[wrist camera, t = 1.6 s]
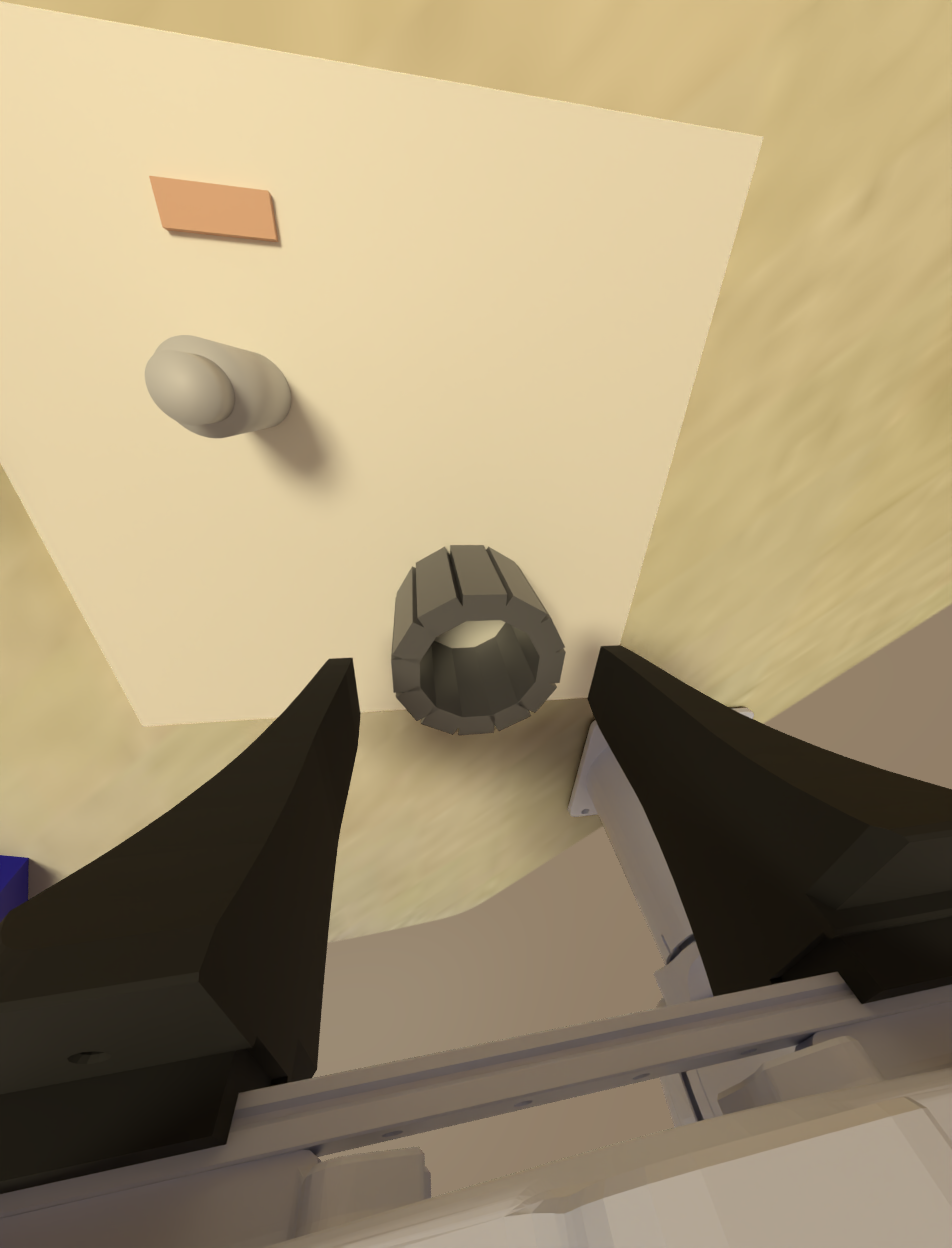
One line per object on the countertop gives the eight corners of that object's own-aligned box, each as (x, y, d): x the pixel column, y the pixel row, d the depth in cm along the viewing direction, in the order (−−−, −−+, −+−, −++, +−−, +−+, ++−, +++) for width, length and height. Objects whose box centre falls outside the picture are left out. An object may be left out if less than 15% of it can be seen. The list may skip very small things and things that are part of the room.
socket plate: (740, 153, 10) (961, -9, 6) (598, 685, 19) (648, 764, 15) (-210, -6, 7) (-1029, -534, 3) (153, 712, 16) (67, 818, 12)
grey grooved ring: (537, 544, 14) (577, 592, 11) (522, 660, 17) (550, 728, 13) (392, 545, 13) (385, 597, 10) (400, 666, 16) (397, 740, 13)
